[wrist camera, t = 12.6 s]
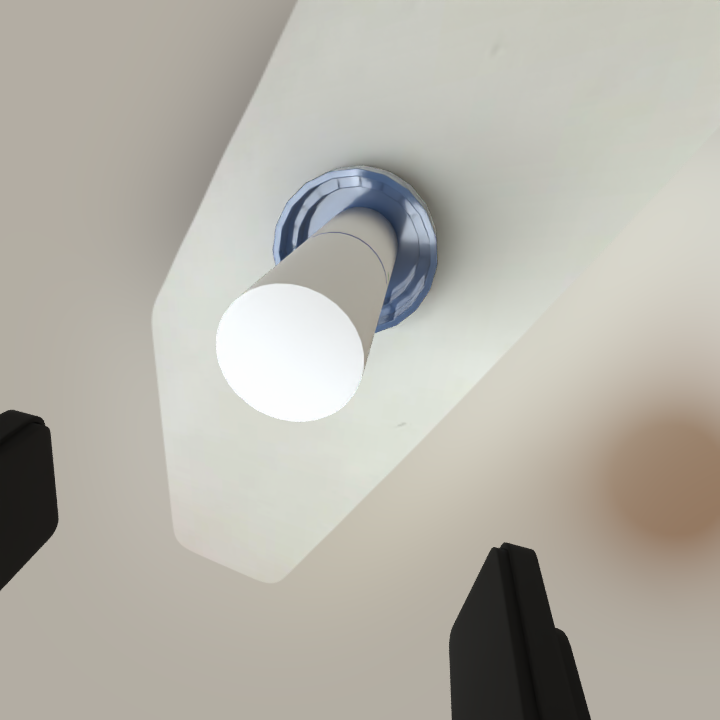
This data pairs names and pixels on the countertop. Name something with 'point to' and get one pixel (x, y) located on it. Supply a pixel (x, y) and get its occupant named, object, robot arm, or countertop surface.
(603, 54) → the countertop surface
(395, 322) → the bowl
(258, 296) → the cylindrical container
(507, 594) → the robot arm
